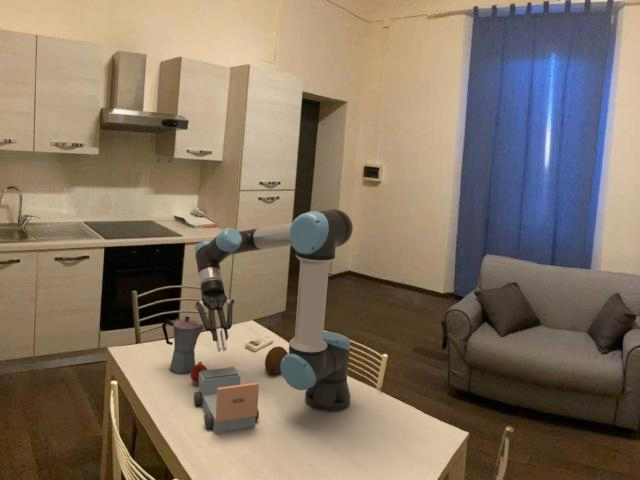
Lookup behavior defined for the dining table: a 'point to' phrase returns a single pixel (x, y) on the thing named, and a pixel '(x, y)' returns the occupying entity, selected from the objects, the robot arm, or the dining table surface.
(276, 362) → the potato
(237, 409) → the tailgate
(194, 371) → the red rounded piece
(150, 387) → the dining table surface
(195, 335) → the moka pot
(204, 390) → the pickup bed
